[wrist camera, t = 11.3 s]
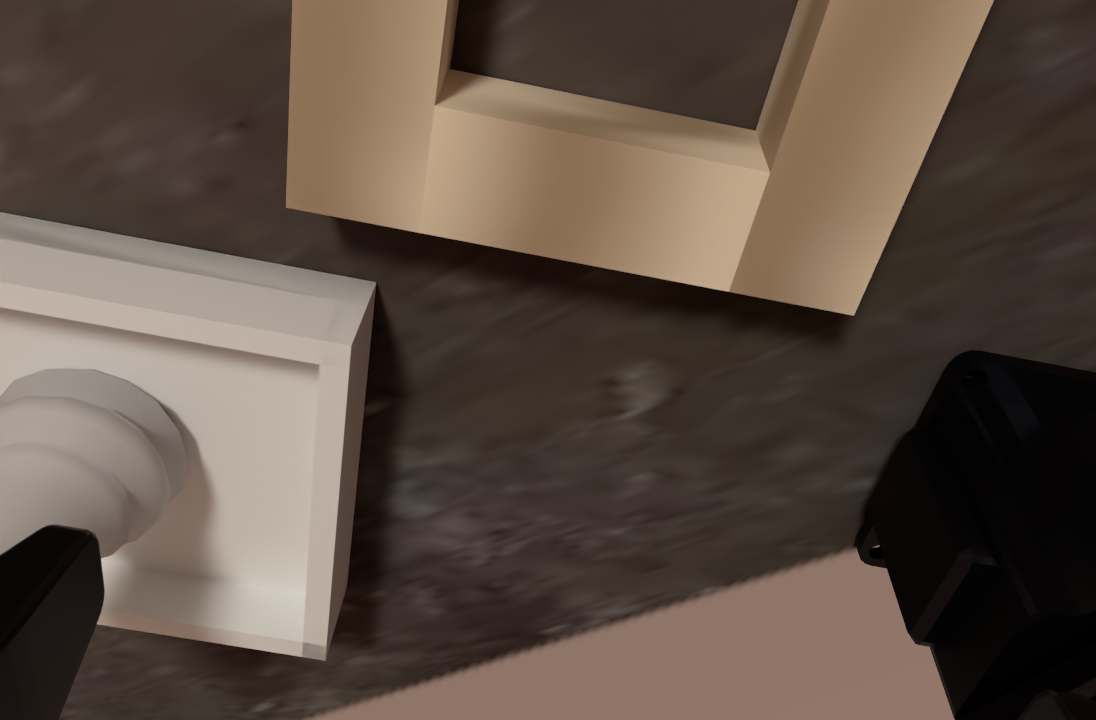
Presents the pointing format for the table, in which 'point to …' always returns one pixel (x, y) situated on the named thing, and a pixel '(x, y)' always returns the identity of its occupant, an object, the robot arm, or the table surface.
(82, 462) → the rook chess piece
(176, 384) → the tray
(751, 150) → the socket block
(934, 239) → the table surface
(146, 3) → the table surface
